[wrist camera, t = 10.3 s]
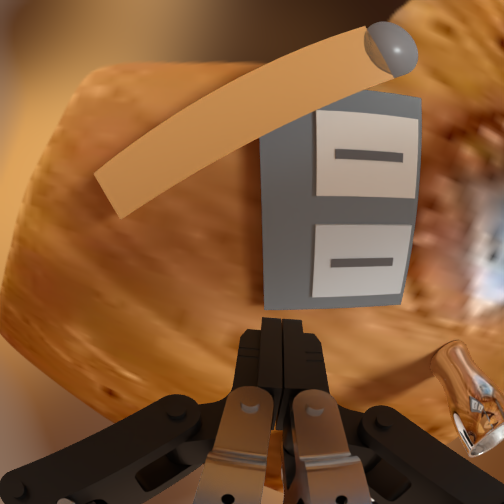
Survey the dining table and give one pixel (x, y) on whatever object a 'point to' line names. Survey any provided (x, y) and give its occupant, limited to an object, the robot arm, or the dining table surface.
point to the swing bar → (254, 110)
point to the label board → (341, 203)
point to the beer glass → (470, 398)
